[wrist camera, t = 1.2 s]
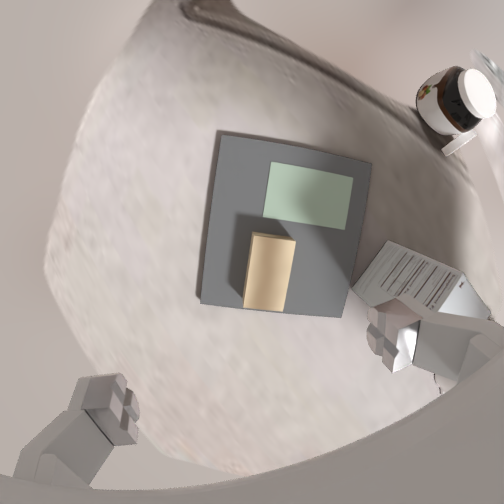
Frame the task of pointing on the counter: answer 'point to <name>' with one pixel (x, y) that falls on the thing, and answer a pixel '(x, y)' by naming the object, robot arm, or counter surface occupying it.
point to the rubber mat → (285, 221)
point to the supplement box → (419, 283)
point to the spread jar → (456, 104)
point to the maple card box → (268, 271)
